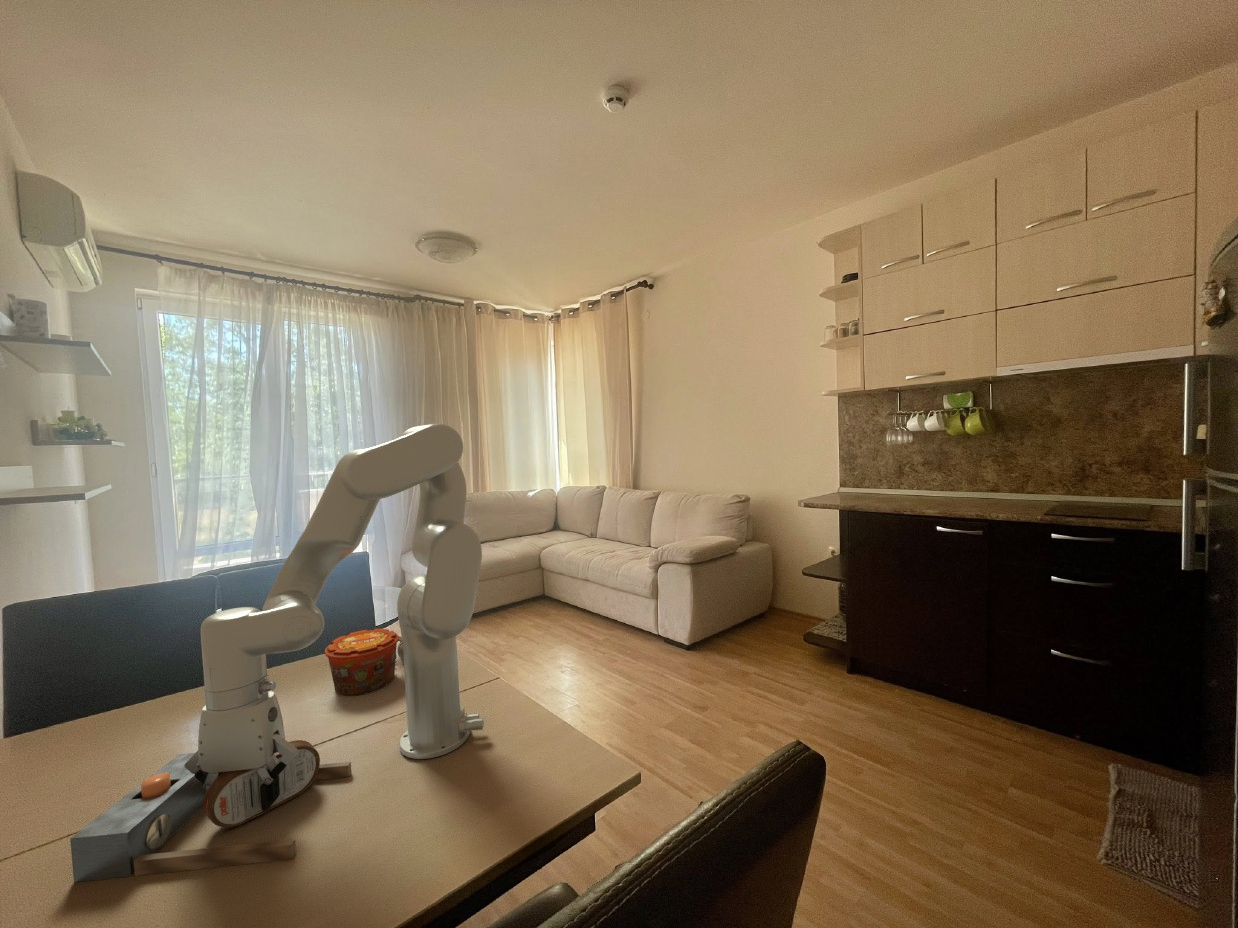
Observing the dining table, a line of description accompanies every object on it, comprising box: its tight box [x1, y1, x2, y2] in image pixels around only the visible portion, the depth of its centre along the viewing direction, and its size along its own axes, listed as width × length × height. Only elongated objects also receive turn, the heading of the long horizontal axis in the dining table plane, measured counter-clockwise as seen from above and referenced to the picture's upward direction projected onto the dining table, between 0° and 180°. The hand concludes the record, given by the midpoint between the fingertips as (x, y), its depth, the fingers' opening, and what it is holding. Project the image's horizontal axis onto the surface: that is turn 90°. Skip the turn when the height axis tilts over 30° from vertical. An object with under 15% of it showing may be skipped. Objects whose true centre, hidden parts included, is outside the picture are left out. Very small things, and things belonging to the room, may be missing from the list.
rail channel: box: [134, 761, 352, 876], centre depth 76 cm, size 20×18×2 cm
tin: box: [202, 739, 321, 828], centre depth 78 cm, size 15×3×8 cm, turn 142°
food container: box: [324, 628, 400, 697], centre depth 119 cm, size 16×16×11 cm
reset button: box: [140, 773, 171, 798], centre depth 74 cm, size 3×3×3 cm
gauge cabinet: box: [69, 752, 207, 883], centre depth 75 cm, size 7×18×6 cm, turn 5°
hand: (245, 805), depth 76 cm, fingers closed on tin, 6 cm apart
